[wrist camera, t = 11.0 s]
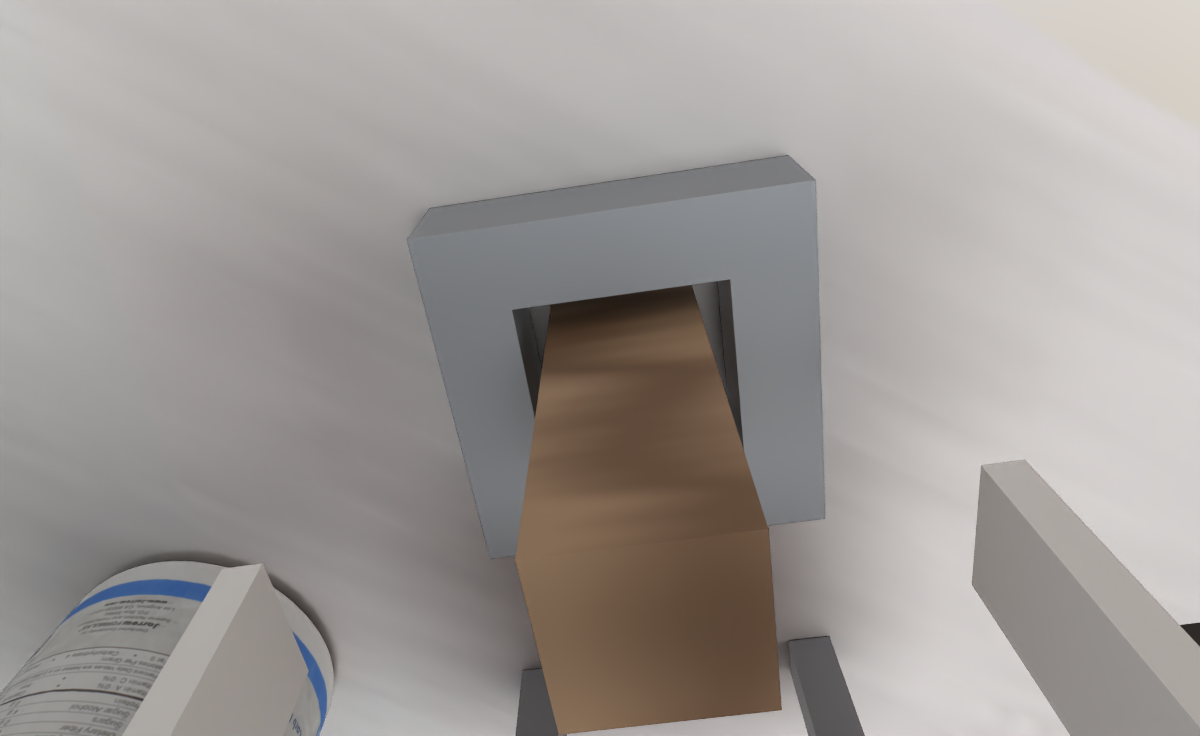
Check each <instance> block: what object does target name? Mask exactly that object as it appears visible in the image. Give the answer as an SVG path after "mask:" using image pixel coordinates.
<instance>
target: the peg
mask: <svg viewBox="0 0 1200 736" xmlns="http://www.w3.org/2000/svg"><path fill="white" fill-rule="evenodd" d="M515 562H516V566H517V570H518V574H519V578H520V582H521V586H522V590H523V594H524V598H525V602H526V606H527V610H528V614H529V618H530V622H531V626H532V630H533V634H534V638H535V642H536V646H537V650H538V654H539V658H540V662H541V666H542V670H543V674H544V678H545V682H546V686H547V690H548V694H549V698H550V702H551V706H552V709H553V713H554V717H555V721H556V725H557V729H558V733H559V735H560V734H569V733H578V732H588V731H597V730H606V729H615V728H624V727H633V726H642V725H651V724H660V723H669V722H678V721H687V720H697V719H706V718H715V717H724V716H733V715H742V714H751V713H760V712H769V711H778V710H782V707H781V694H780V680H779V666H778V653H777V639H776V625H775V611H774V598H773V584H772V570H771V557H770V543H769V529H768V526H767V523H766V520H765V516H764V513H763V510H762V507H761V504H760V500H759V497H758V494H757V491H756V488H755V485H754V481H753V478H752V475H751V472H750V469H749V466H748V462H747V459H746V456H745V453H744V450H743V447H742V443H741V440H740V437H739V434H738V431H737V428H736V424H735V421H734V418H733V415H732V412H731V409H730V405H729V402H728V399H727V396H726V393H725V390H724V386H723V383H722V380H721V377H720V374H719V371H718V367H717V364H716V361H715V358H714V355H713V352H712V348H711V345H710V342H709V339H708V336H707V333H706V329H705V326H704V323H703V320H702V317H701V314H700V310H699V307H698V304H697V301H696V298H695V294H694V291H693V288H692V285H686V286H679V287H672V288H665V289H658V290H650V291H643V292H636V293H629V294H622V295H615V296H607V297H600V298H593V299H586V300H579V301H572V302H564V303H557V304H551V309H550V316H549V323H548V330H547V337H546V344H545V351H544V359H543V366H542V373H541V380H540V387H539V394H538V401H537V408H536V415H535V422H534V430H533V437H532V444H531V451H530V458H529V465H528V472H527V479H526V486H525V493H524V501H523V508H522V515H521V522H520V529H519V536H518V543H517V550H516V557H515Z"/></svg>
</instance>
